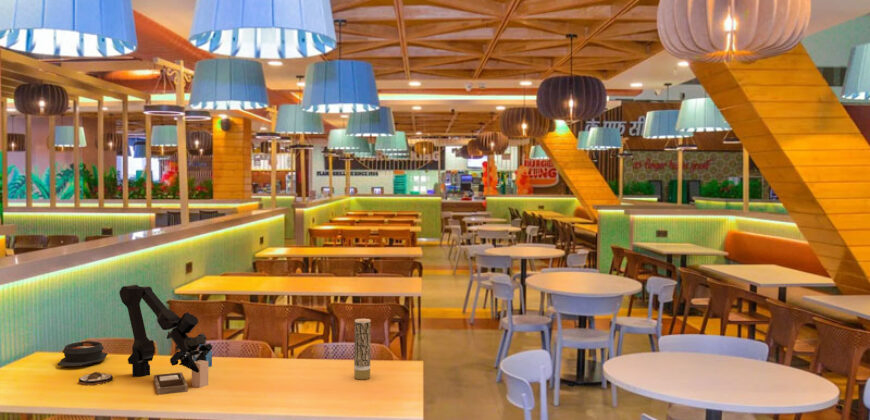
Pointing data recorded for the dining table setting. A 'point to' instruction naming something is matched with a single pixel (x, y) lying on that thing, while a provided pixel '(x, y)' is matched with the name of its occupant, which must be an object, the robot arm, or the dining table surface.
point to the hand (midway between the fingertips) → (202, 370)
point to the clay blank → (200, 374)
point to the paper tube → (362, 349)
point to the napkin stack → (168, 377)
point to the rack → (170, 384)
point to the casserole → (82, 354)
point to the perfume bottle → (208, 356)
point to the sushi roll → (95, 378)
